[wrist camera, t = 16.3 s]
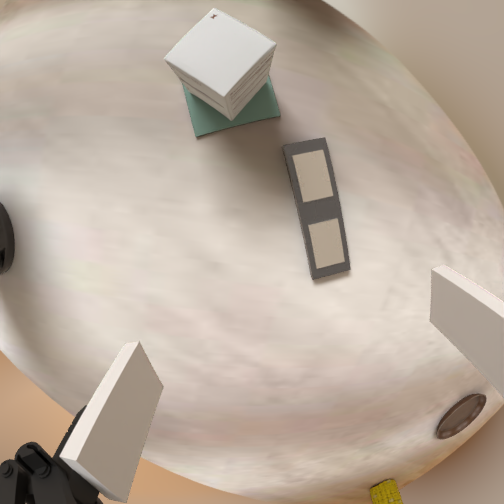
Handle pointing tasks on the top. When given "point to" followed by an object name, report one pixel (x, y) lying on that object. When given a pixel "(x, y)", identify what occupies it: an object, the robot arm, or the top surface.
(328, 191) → the label plate
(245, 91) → the supplement box
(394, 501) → the food
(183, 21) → the top surface
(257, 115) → the mat
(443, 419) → the plant saucer
